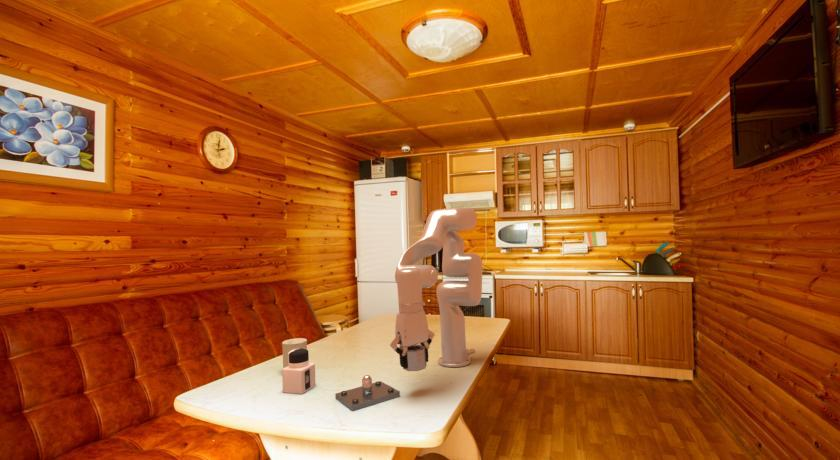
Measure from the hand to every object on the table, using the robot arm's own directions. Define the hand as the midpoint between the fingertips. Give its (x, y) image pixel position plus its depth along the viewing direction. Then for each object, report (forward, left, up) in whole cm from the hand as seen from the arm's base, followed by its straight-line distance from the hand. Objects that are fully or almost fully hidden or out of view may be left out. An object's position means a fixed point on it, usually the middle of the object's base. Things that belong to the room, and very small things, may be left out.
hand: (414, 363), depth 121 cm
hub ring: (0, 0, -1) cm, 1 cm away
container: (+27, -29, -9) cm, 41 cm away
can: (+22, -49, -9) cm, 55 cm away
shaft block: (+13, -7, -9) cm, 18 cm away
